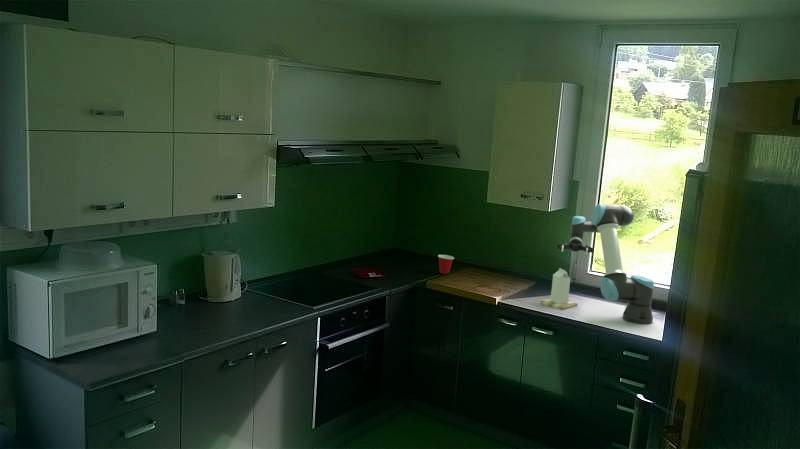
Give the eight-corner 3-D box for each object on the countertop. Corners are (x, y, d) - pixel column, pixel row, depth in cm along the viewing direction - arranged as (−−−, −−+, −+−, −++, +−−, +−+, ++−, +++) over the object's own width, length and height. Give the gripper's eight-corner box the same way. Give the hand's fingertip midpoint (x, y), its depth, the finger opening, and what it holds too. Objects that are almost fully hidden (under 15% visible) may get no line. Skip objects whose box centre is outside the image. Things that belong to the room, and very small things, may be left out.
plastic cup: (455, 276, 409) (456, 257, 407) (439, 276, 406) (440, 257, 404) (450, 271, 419) (451, 254, 417) (434, 271, 416) (435, 254, 414)
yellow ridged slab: (577, 306, 356) (577, 303, 356) (563, 310, 347) (563, 307, 347) (554, 299, 367) (554, 297, 367) (540, 303, 358) (540, 300, 358)
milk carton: (556, 304, 353) (559, 271, 349) (550, 300, 359) (553, 268, 356) (567, 303, 354) (571, 271, 351) (561, 300, 361) (564, 267, 358)
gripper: (596, 252, 377) (596, 259, 357) (553, 248, 384) (551, 254, 364) (597, 240, 376) (598, 246, 356) (555, 235, 383) (552, 241, 363)
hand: (574, 250), depth 360 cm, fingers open, 13 cm apart
